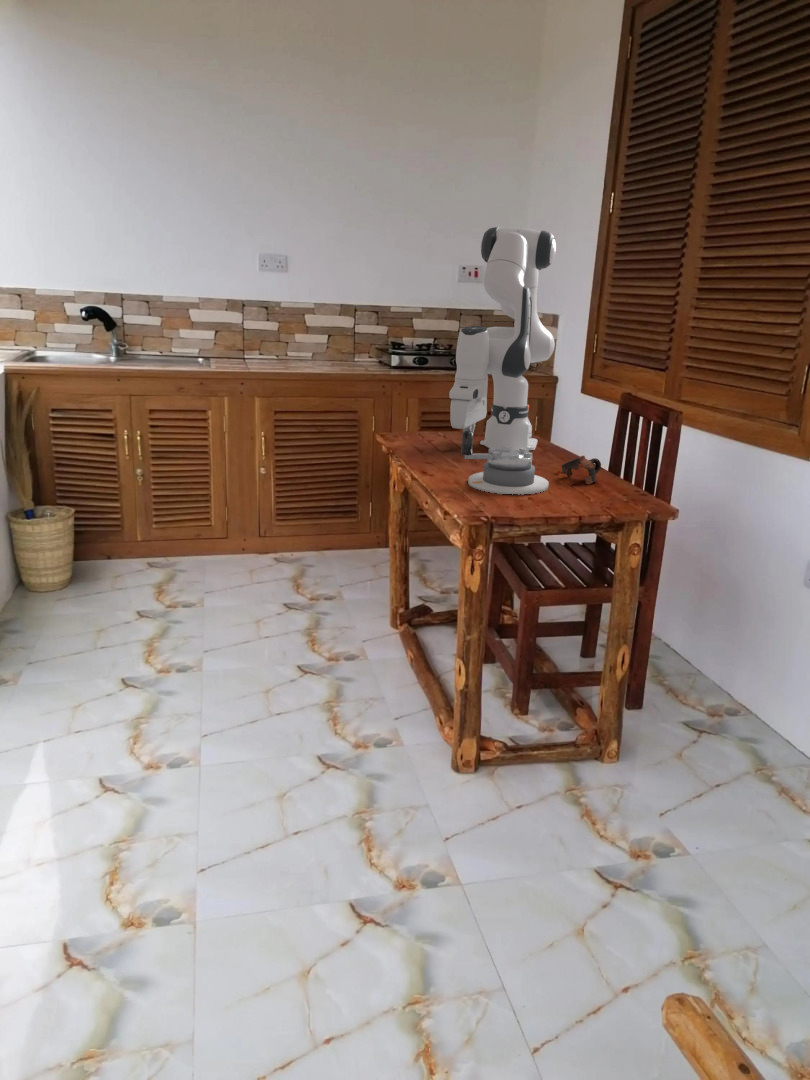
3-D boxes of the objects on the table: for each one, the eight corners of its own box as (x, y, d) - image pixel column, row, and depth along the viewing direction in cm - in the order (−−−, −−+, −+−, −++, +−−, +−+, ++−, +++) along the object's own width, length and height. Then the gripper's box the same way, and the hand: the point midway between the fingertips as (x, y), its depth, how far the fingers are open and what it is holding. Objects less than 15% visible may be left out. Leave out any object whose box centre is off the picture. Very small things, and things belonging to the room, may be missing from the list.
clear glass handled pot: (457, 459, 225) (459, 427, 222) (526, 460, 227) (528, 428, 224) (463, 469, 214) (465, 436, 211) (535, 470, 215) (538, 437, 212)
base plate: (483, 471, 236) (484, 454, 234) (556, 480, 228) (558, 462, 226) (456, 488, 217) (457, 469, 215) (536, 499, 208) (537, 479, 207)
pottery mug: (581, 488, 222) (569, 461, 222) (562, 495, 231) (551, 469, 231) (613, 473, 227) (601, 447, 227) (594, 480, 236) (582, 455, 236)
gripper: (472, 383, 226) (469, 432, 231) (446, 392, 208) (444, 445, 213) (493, 385, 224) (490, 434, 228) (469, 394, 206) (467, 447, 210)
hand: (468, 439), depth 220 cm, fingers closed
